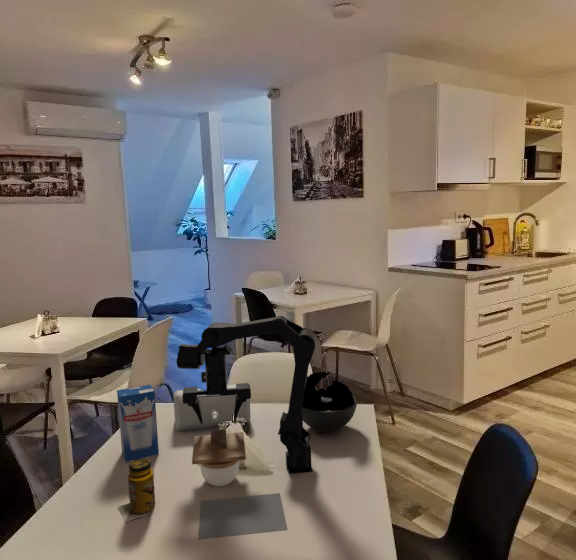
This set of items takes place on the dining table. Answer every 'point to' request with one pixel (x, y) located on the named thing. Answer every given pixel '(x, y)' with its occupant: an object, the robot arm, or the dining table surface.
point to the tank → (207, 411)
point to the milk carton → (138, 422)
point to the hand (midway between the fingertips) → (218, 422)
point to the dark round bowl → (327, 404)
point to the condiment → (139, 490)
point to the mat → (241, 516)
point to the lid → (218, 447)
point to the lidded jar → (220, 472)
